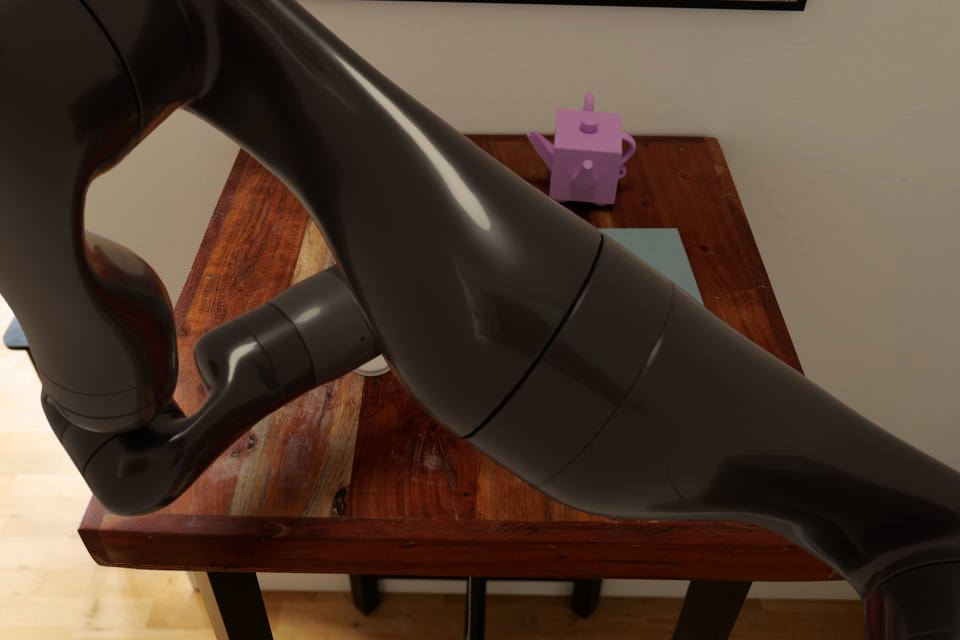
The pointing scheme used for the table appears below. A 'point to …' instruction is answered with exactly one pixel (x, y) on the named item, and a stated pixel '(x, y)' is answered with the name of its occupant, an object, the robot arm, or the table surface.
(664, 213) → the table surface
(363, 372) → the chess piece
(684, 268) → the cloth mat
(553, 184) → the teapot
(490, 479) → the table surface
